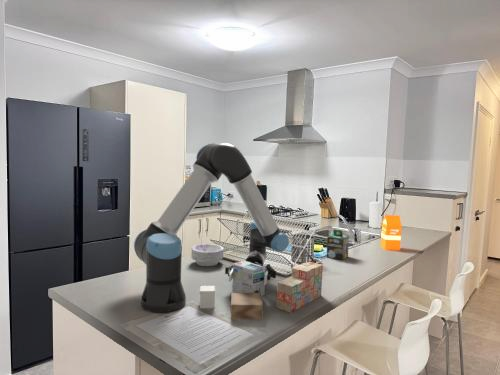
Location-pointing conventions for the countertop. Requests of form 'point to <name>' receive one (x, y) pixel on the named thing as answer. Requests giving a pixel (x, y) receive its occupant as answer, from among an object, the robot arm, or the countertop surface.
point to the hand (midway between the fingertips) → (247, 279)
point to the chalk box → (337, 245)
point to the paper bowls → (207, 254)
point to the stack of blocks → (300, 287)
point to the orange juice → (391, 232)
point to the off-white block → (207, 296)
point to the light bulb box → (248, 278)
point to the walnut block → (246, 306)
